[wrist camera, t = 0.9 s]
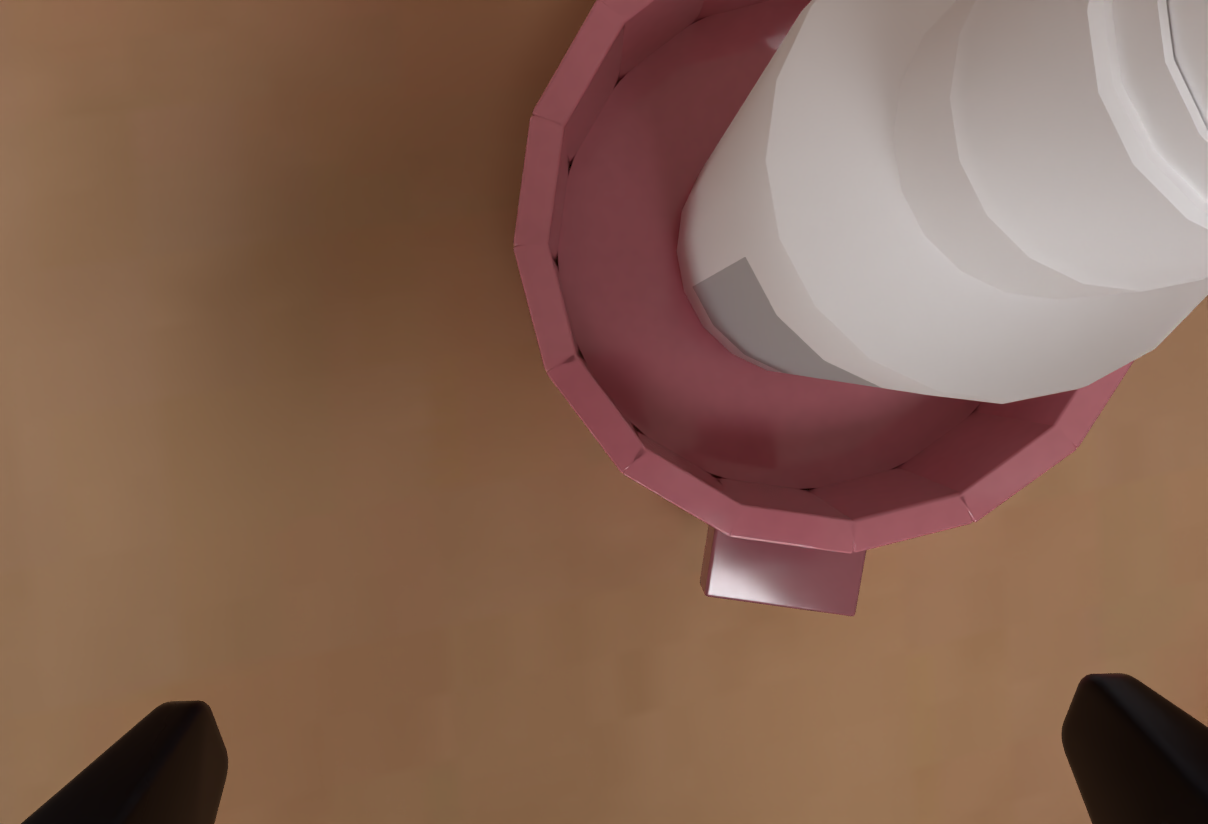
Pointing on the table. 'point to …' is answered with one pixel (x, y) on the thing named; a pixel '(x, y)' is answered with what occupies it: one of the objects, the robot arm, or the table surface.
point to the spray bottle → (960, 195)
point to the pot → (699, 361)
